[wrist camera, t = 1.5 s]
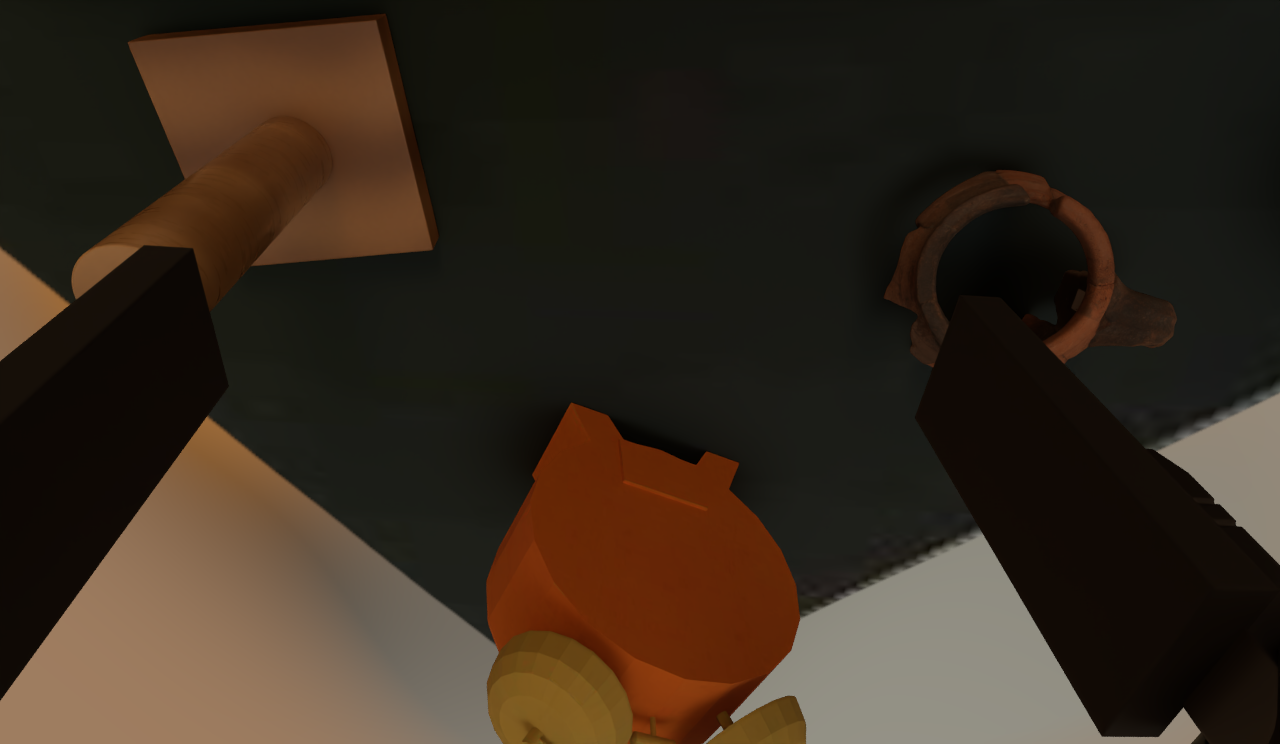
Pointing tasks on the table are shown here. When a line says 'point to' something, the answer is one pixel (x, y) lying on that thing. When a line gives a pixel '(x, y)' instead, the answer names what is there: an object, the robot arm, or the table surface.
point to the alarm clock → (636, 601)
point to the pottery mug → (1084, 300)
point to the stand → (277, 150)
